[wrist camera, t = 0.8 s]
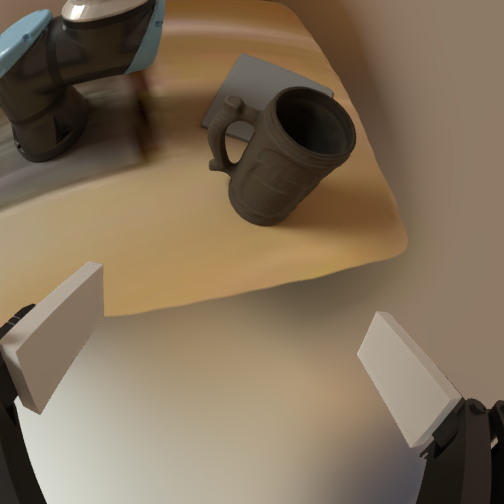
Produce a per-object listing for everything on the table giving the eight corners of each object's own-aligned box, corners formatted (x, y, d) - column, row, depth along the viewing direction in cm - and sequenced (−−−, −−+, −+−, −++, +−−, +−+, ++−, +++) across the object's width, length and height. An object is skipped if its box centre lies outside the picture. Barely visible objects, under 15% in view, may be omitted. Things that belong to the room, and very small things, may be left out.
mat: (318, 171, 47) (320, 170, 46) (200, 126, 43) (200, 124, 42) (331, 92, 54) (332, 90, 53) (241, 54, 50) (241, 53, 49)
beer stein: (297, 171, 46) (352, 94, 27) (297, 231, 43) (367, 171, 24) (206, 158, 43) (218, 64, 24) (197, 219, 41) (201, 140, 21)
